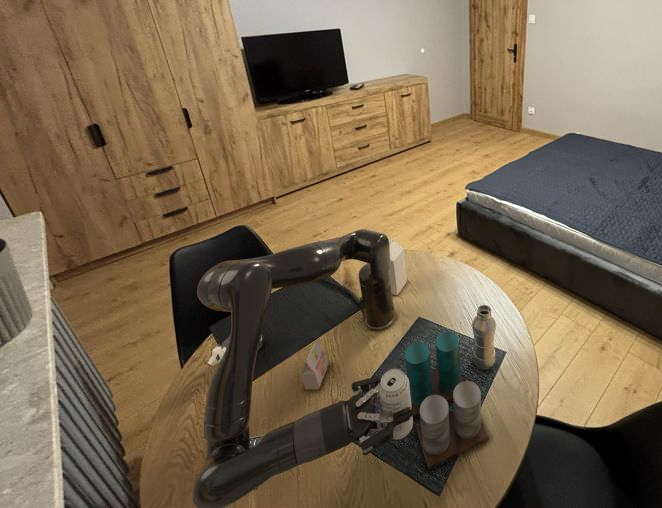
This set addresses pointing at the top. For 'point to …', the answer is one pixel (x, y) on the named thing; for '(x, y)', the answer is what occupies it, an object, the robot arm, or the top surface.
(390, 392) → the energy drink can
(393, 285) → the milk carton
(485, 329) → the plastic bottle
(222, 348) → the giant panda
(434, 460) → the tin rack
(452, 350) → the can rack
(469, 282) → the top surface
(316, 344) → the pink white gabled box
